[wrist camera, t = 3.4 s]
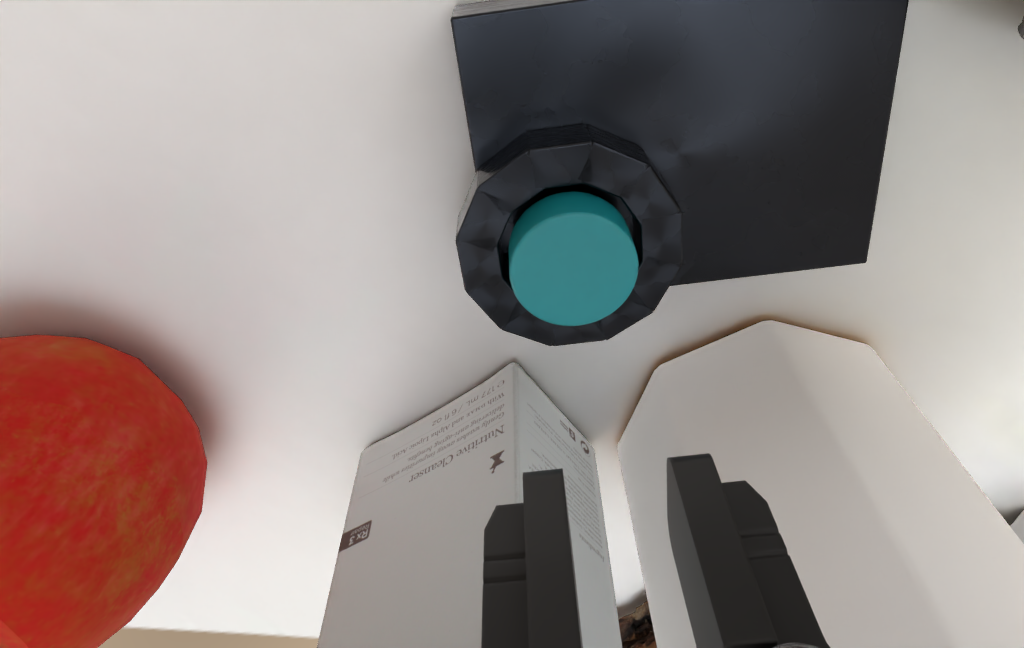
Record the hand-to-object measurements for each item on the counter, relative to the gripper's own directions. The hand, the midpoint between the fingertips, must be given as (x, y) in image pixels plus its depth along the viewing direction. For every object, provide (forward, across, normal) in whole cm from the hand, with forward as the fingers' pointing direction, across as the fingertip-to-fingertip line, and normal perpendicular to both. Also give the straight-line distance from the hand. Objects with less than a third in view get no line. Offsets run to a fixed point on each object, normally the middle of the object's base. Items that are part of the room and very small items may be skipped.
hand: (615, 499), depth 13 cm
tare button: (+10, 0, 0) cm, 10 cm away
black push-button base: (+13, -4, -2) cm, 14 cm away
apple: (+13, +20, +6) cm, 24 cm away
